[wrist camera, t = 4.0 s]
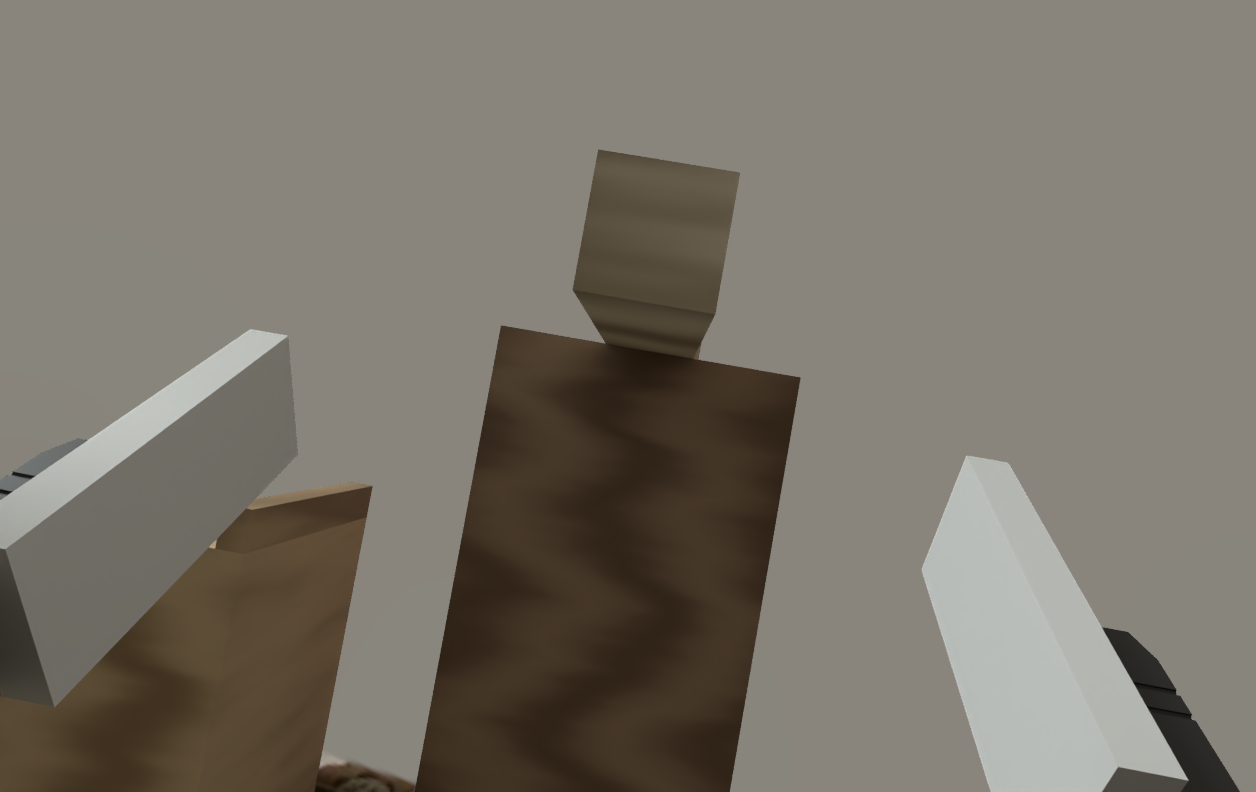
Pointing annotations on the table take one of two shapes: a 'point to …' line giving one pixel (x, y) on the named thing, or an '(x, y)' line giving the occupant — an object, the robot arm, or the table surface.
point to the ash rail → (654, 251)
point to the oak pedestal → (212, 667)
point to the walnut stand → (608, 572)
